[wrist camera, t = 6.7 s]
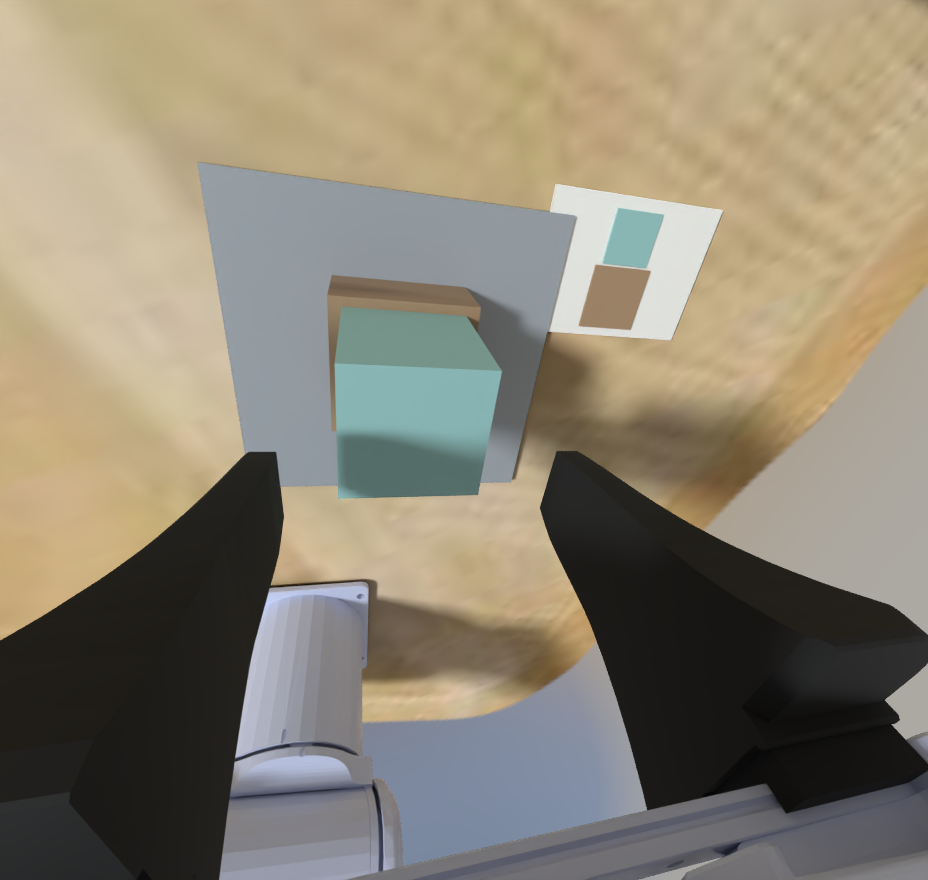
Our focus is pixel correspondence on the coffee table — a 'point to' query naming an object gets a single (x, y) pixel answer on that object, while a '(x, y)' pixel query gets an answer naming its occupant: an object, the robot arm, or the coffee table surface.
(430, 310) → the walnut brick
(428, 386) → the teal brick
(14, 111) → the coffee table surface
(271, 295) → the build plate
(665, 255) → the tile
